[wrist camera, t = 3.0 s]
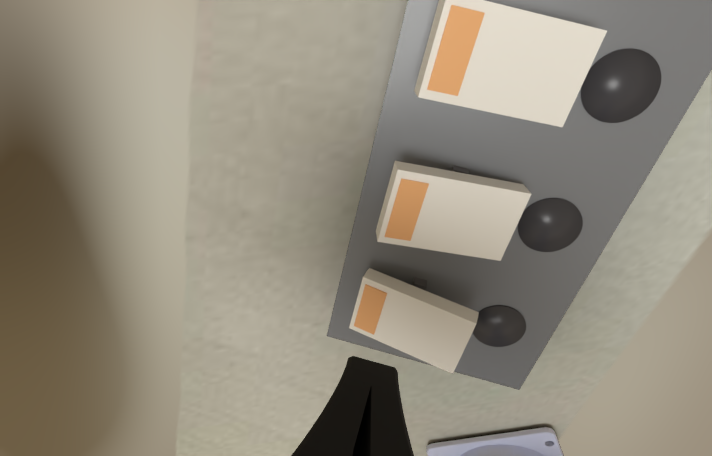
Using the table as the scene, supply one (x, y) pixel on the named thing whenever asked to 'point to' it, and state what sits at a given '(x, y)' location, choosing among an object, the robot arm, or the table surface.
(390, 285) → the white rectangular block
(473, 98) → the rocker
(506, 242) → the rocker
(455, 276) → the power strip
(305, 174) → the table surface
